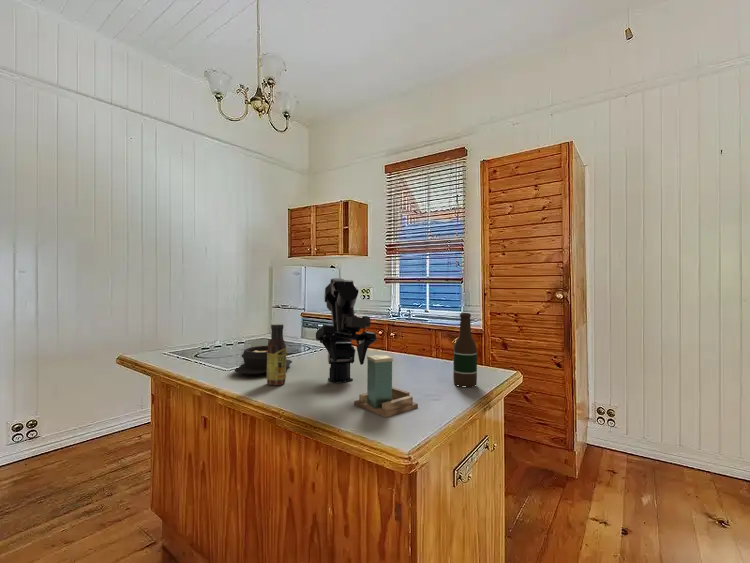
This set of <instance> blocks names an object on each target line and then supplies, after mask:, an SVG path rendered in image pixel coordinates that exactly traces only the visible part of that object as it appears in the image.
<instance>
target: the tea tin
mask: <svg viewBox="0 0 750 563" xmlns="http://www.w3.org/2000/svg"><path fill="white" fill-rule="evenodd" d="M366 359H367V368H366V369H367V374H366V375H367V379H366V380H367V392H366V393H367V403H368V404H369V405H370V406H372V407H373V408H374V409H378V408H382V403H385V402H388V401H392V387H393V362H394V360H393V357H391V356H389V355H386V354H375V355H374V354H373V355H366Z"/></svg>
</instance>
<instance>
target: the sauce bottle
mask: <svg viewBox="0 0 750 563" xmlns="http://www.w3.org/2000/svg"><path fill="white" fill-rule="evenodd" d="M270 329H271V336H270V337H271V338H270V340H269V342H268V343H267V346H268V352H267V374H266V384H267V385H268V386H281V385H284V384H285V383H286V378H287V368H286V359H287V355H286V352H287V345H286V342H285V340H284V332H283V331H284V324H282V323H273V324H271V325H270Z"/></svg>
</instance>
